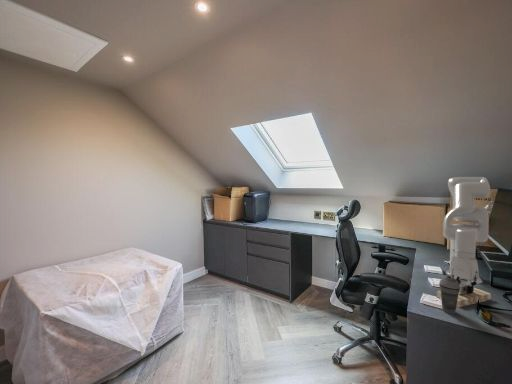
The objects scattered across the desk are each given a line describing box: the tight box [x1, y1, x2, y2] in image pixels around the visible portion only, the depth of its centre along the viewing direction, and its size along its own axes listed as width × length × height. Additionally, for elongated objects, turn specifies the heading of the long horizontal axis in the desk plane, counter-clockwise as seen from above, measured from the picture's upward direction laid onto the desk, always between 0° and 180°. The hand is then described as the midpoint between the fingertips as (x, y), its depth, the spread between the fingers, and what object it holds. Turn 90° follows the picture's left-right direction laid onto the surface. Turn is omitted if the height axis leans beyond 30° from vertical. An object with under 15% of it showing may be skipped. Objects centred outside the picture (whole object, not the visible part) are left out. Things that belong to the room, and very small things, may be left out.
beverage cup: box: [438, 268, 460, 315], centre depth 106 cm, size 7×7×20 cm
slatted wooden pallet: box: [436, 287, 492, 308], centre depth 118 cm, size 22×10×3 cm, turn 107°
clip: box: [458, 281, 472, 296], centre depth 118 cm, size 10×3×7 cm, turn 107°
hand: (463, 290), depth 118 cm, fingers open, 4 cm apart
